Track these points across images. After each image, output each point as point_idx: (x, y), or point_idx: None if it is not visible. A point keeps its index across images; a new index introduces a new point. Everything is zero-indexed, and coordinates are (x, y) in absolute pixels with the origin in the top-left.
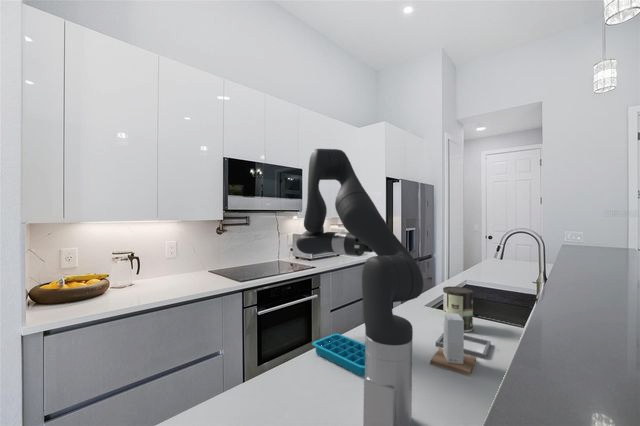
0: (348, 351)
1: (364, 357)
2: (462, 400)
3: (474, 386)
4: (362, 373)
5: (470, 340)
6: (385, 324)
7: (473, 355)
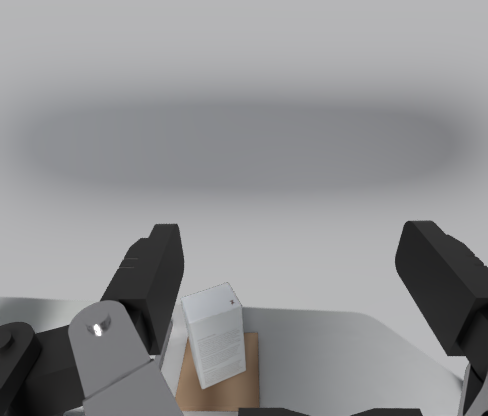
0: None
1: None
2: (340, 333)
3: (286, 327)
4: None
5: None
6: None
7: (167, 343)
